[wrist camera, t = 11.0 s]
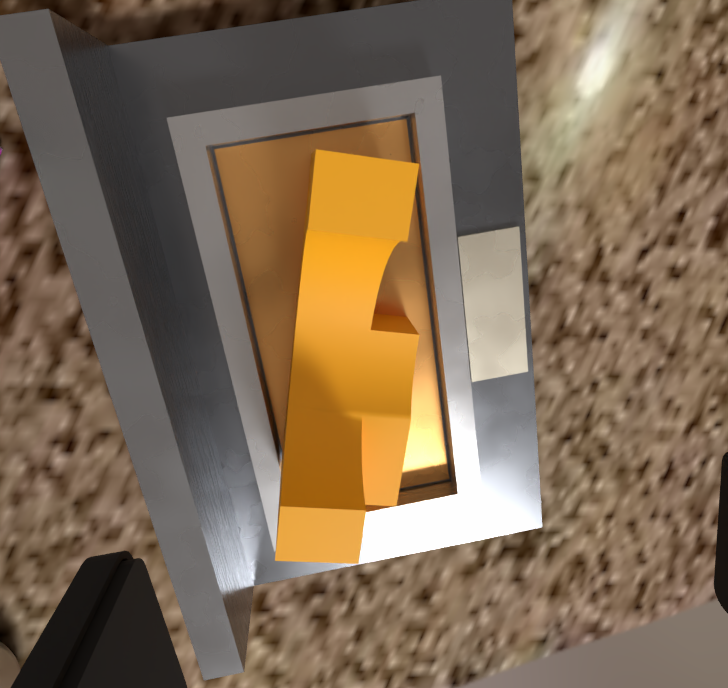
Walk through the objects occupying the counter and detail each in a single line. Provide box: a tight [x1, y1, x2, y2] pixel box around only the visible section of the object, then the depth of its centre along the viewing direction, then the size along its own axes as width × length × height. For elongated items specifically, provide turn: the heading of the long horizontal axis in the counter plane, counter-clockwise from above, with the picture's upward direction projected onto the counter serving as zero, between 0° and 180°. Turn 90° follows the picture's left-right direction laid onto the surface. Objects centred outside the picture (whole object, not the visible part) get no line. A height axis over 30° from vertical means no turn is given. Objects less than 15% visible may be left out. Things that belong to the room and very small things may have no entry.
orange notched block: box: [275, 149, 420, 564], centre depth 19 cm, size 12×4×6 cm, turn 172°
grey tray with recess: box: [0, 0, 542, 680], centre depth 20 cm, size 15×22×6 cm
